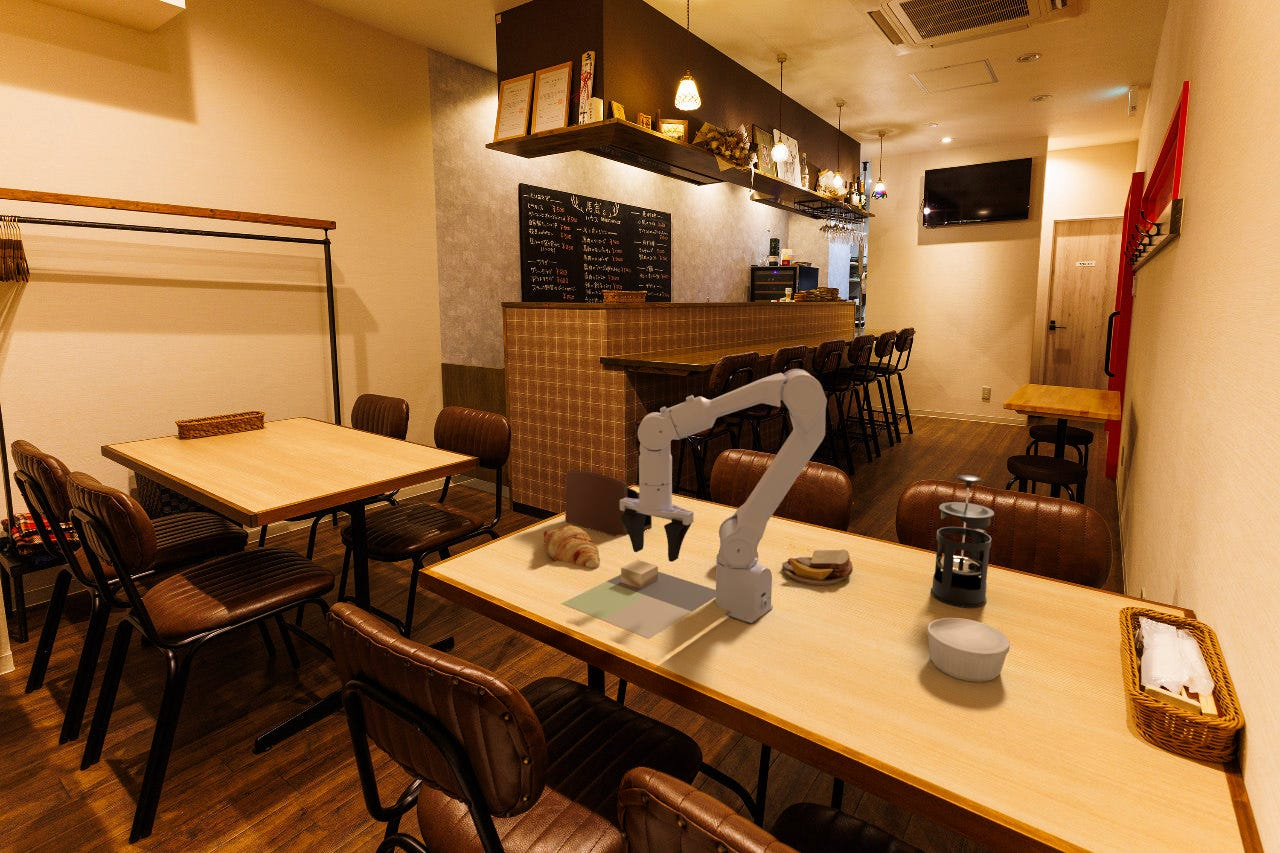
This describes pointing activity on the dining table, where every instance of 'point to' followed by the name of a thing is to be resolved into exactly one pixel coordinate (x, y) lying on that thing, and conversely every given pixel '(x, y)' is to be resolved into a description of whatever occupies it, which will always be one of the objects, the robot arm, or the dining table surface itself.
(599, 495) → the letter holder
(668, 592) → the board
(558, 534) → the croissant
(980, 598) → the french press
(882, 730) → the dining table surface
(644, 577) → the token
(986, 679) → the ramekin
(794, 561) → the toy sandwich meal
